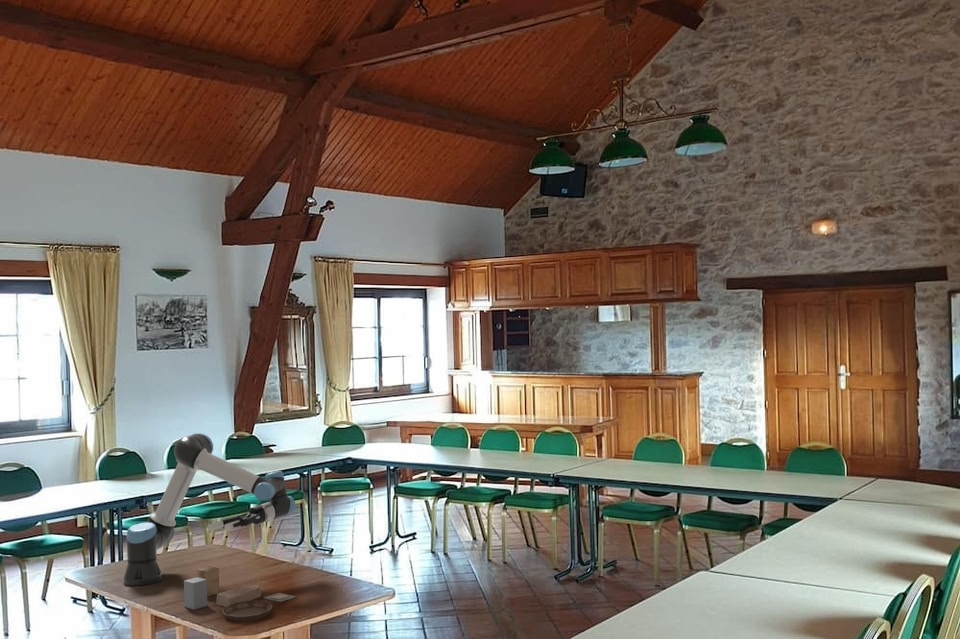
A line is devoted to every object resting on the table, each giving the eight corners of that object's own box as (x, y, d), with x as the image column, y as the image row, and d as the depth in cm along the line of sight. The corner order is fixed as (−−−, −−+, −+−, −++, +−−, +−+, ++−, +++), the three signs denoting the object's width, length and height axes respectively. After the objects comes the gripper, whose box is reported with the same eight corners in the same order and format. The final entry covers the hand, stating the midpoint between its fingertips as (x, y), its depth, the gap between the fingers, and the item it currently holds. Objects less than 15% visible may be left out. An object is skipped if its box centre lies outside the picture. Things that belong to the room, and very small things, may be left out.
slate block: (184, 607, 350) (183, 580, 350) (197, 603, 355) (197, 577, 355) (193, 609, 346) (193, 583, 346) (207, 605, 351) (206, 579, 351)
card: (263, 598, 359) (263, 596, 359) (279, 593, 365) (279, 592, 365) (280, 602, 353) (280, 601, 353) (296, 597, 359) (296, 596, 359)
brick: (229, 608, 348) (229, 596, 348) (215, 605, 352) (214, 593, 352) (262, 597, 361) (262, 585, 361) (247, 594, 366) (247, 583, 366)
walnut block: (197, 594, 366) (197, 569, 366) (210, 590, 371) (209, 566, 371) (206, 596, 363) (206, 571, 363) (219, 593, 367) (218, 568, 368)
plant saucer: (257, 625, 327) (257, 616, 327) (213, 622, 332) (213, 613, 332) (281, 610, 344) (280, 602, 344) (238, 607, 349) (238, 599, 349)
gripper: (279, 522, 381) (234, 537, 366) (248, 522, 398) (203, 537, 383) (275, 504, 381) (230, 518, 366) (244, 505, 399) (200, 519, 383)
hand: (216, 528), depth 374 cm, fingers open, 13 cm apart
